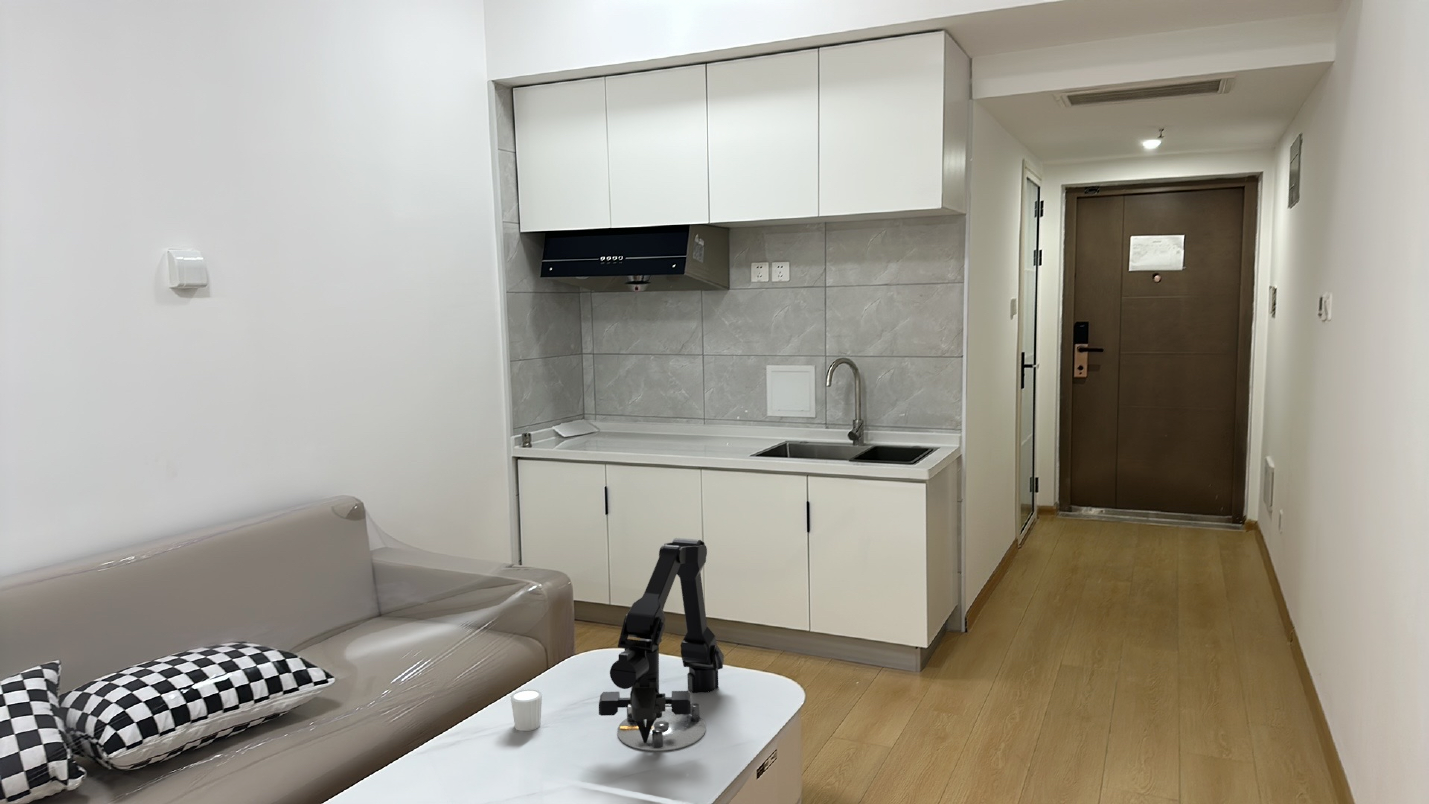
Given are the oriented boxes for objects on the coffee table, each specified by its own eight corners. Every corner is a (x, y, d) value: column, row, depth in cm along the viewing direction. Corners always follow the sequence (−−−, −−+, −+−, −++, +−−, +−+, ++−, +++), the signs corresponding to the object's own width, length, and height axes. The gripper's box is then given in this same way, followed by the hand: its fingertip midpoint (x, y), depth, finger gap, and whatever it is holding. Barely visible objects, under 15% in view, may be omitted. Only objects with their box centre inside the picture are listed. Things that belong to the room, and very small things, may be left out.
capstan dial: (707, 710, 212) (707, 694, 212) (703, 751, 193) (702, 734, 193) (624, 710, 213) (623, 695, 212) (611, 751, 194) (610, 734, 194)
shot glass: (516, 735, 204) (515, 704, 203) (508, 722, 210) (506, 692, 209) (547, 727, 207) (545, 697, 206) (538, 715, 213) (536, 686, 212)
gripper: (595, 686, 185) (596, 762, 187) (690, 685, 185) (690, 760, 187) (600, 664, 196) (601, 736, 198) (690, 663, 197) (690, 734, 198)
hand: (645, 742), depth 195 cm, fingers closed
